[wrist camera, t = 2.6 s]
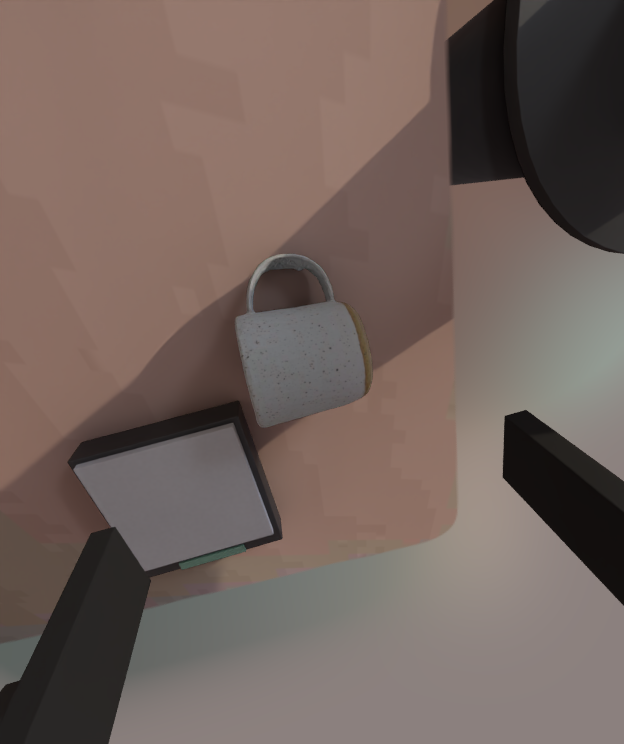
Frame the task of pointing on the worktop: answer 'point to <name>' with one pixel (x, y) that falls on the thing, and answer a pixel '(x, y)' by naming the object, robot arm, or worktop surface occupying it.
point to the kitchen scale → (182, 488)
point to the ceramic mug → (302, 351)
